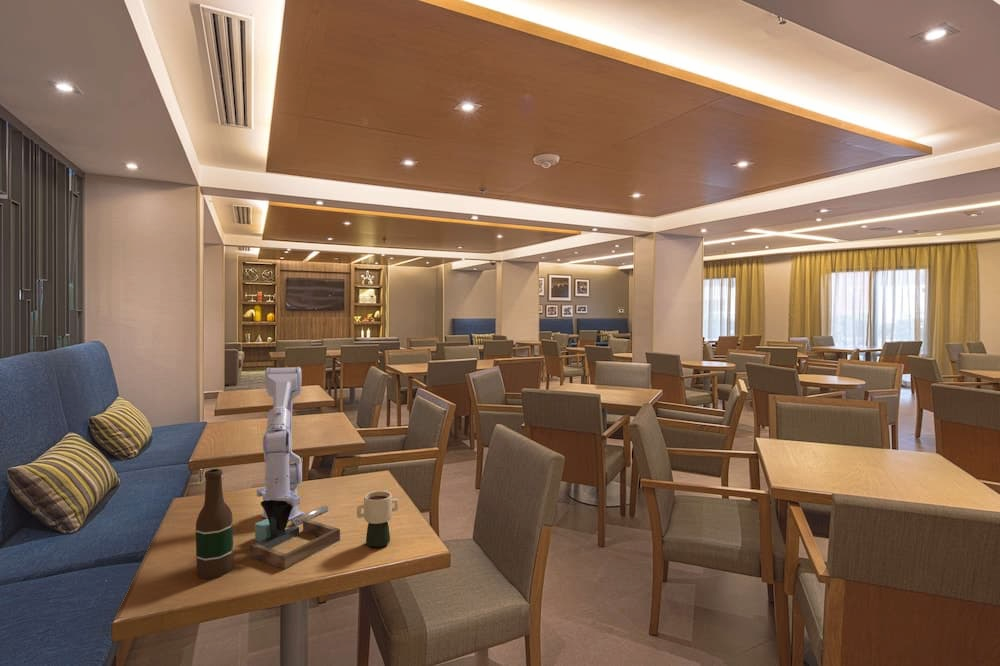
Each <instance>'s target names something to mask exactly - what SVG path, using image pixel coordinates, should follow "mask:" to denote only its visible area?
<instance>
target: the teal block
mask: <svg viewBox="0 0 1000 666" xmlns="http://www.w3.org/2000/svg"><path fill="white" fill-rule="evenodd" d="M268 537H271V532H270V524H269V520H268V518H264V519H263V520H261V521H258V522H255V523H254V539H255V541H256V542H260V541H262V540H264V539H266V538H268Z"/></svg>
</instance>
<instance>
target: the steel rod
mask: <svg viewBox="0 0 1000 666" xmlns="http://www.w3.org/2000/svg"><path fill="white" fill-rule="evenodd" d="M326 511H327V512H328V511H329V506H328V505H327V504H324V505H321V506H320V507H318V508H315V509H313V510H310V511H309V512H306V513H304V514H302V515H300V516H298V517H295V518H293V519H291V520H290V524H291V526H294V525H295V526H296V527H297V526H298V525H301V524H303V523H302V522H303V521H304V520H306V519H307V520H308V519H309V520H311V519H313V517H314V518H316V517H317V515H318V516H320V515H322V514H324V512H325V513H327V512H326ZM315 516H316V517H315Z"/></svg>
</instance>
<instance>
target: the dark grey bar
mask: <svg viewBox="0 0 1000 666" xmlns="http://www.w3.org/2000/svg"><path fill="white" fill-rule="evenodd" d="M270 532H271V537H268V538H266V539H264V540H262V541H260V542H259V541H256V542H255V543H256V544H259V545H262V546H265V547H267V548H270V549H273V548H274V547H276V546H279V545H280V544H282V543H284V542H286V541H289V540H292V539H293V538H295V537H297V536H300V527H299V526H297V525H296V526H294V525H291V526H290V527H287V528H284V529H282V530H278V526H277V517H276V515H275V516H272V517H270Z"/></svg>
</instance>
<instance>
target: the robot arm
mask: <svg viewBox="0 0 1000 666" xmlns="http://www.w3.org/2000/svg"><path fill="white" fill-rule="evenodd" d="M302 377H303V375H302V368H301V367H300V366H296V367H295V366H293V367H292V366H291V367H267V368H266V369H265V371H264V386H265V388H266V392H267V395H268V396H269V397H271V398H273V399H272V400H273V401H272V402H273V403H272V407H273V408H272V409H270V410H269V411H268V414H267V422H266V432H265V433H263V436H262V451H263V460H264V462H265V469H264V470H265V471H264V484H265V487H264V486H261V487H260V488H256V497H258V498H261V497H262V500H263V501H260V506H261V507H262V509H263V513H262V514H261V515H260V517H261V518H264V519H267V518H268V520H269V524H270V517H272V516H275V515H276V517H277V526H278V530H282V529H284V528H285V529H287V528H288V523H289V521H291V520H292V519H294V518H297V517H299V516H301V515H304V514H305V511H302V510H299V508H298V506H299V505H301V496H299V495H298V485H300V484H301V483H302V481H303V464H302V458H301V456H299V455H298V454H297V453H294V452H293V403H294V400H295V398H296V397H298V396H299V395H301V391H302V382H303V381H302Z"/></svg>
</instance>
